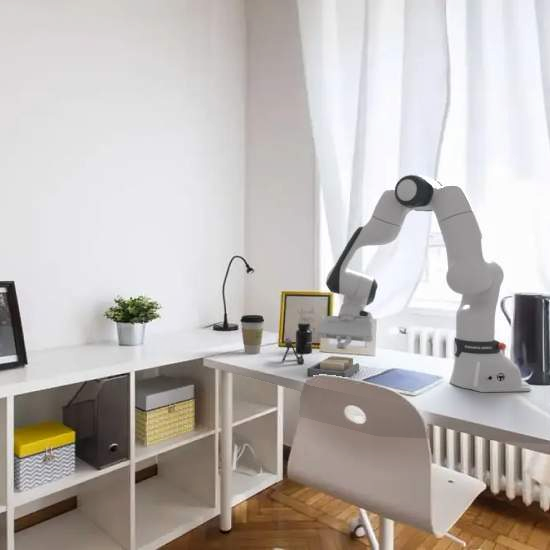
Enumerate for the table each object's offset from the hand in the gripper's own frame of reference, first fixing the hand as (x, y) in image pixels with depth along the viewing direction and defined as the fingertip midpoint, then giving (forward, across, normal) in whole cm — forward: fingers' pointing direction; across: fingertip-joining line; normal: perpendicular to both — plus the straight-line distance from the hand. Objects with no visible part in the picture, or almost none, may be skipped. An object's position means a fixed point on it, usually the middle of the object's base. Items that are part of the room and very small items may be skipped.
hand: (341, 348), depth 172 cm
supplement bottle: (-9, -23, +20) cm, 32 cm away
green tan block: (+3, 0, +4) cm, 5 cm away
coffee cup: (-2, -42, +12) cm, 44 cm away
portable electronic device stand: (+4, -20, +7) cm, 21 cm away
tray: (+10, 0, 0) cm, 10 cm away
